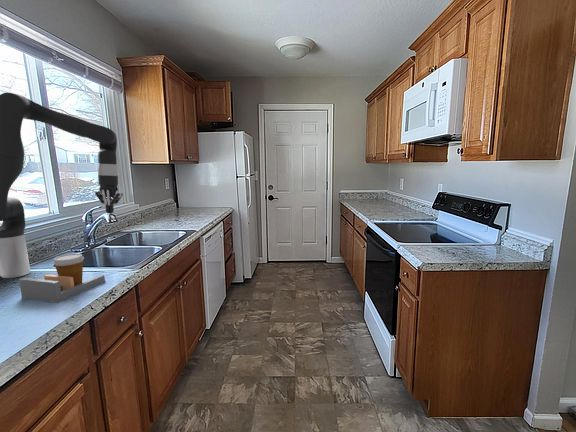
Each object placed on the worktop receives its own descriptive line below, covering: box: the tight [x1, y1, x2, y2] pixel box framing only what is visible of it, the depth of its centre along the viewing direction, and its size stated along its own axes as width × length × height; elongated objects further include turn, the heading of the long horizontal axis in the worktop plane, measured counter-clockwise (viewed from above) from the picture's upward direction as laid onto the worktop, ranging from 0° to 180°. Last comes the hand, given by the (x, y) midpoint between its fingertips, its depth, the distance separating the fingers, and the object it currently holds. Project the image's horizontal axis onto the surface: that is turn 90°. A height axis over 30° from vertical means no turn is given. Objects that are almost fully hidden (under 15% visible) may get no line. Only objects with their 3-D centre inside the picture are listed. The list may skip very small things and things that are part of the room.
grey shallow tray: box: [18, 274, 106, 303], centre depth 112 cm, size 16×20×7 cm
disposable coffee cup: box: [52, 253, 85, 286], centre depth 114 cm, size 10×10×12 cm
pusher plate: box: [43, 274, 74, 292], centre depth 109 cm, size 12×3×6 cm, turn 76°
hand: (109, 213), depth 134 cm, fingers closed
